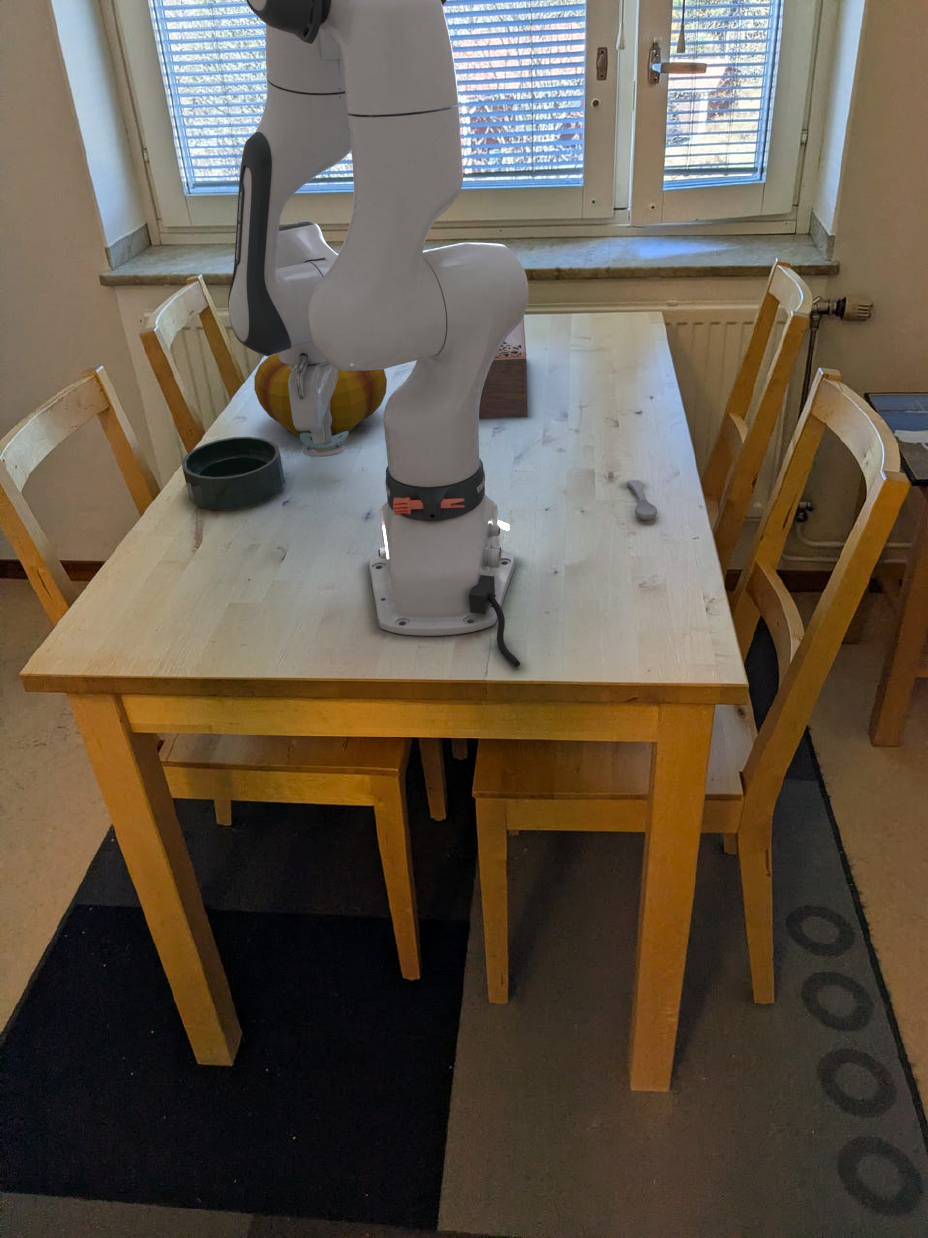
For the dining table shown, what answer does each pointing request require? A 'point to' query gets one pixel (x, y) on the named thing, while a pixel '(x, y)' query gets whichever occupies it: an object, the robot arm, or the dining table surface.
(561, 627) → the dining table surface
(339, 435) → the pacifier
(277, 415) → the decorative pumpkin
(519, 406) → the tissue box cover
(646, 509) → the spoon
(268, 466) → the bowl
